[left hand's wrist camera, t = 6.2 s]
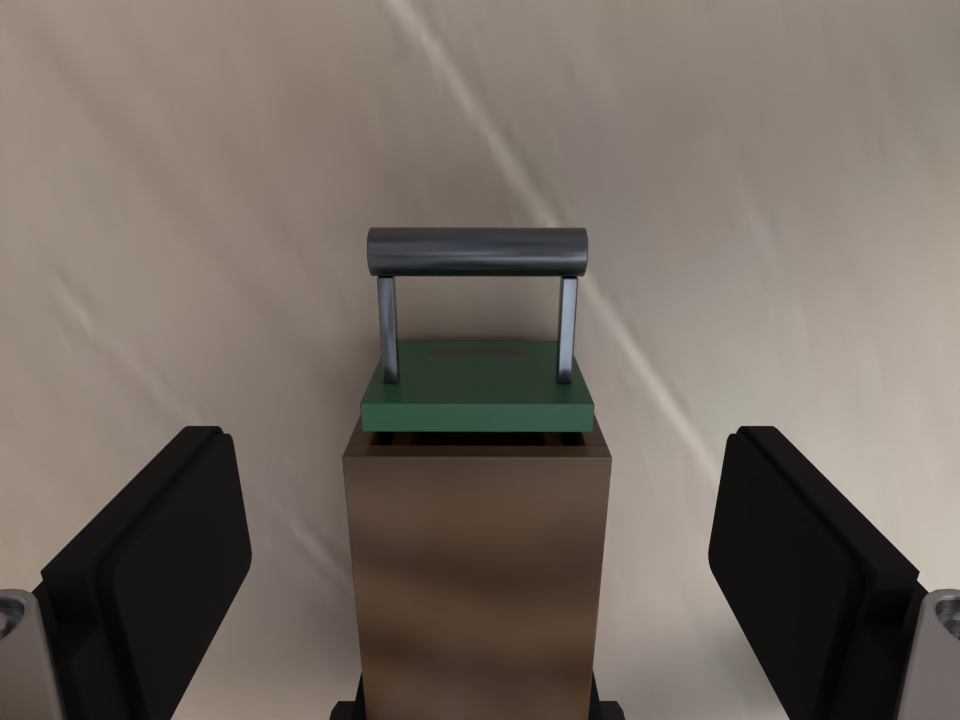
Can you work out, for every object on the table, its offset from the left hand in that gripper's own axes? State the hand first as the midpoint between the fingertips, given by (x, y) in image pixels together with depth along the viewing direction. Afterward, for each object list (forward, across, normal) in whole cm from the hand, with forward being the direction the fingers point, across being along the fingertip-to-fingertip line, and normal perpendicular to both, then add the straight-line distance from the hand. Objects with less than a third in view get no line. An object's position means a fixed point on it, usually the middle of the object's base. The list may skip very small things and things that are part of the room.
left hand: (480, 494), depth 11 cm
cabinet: (+18, 0, -14) cm, 23 cm away
